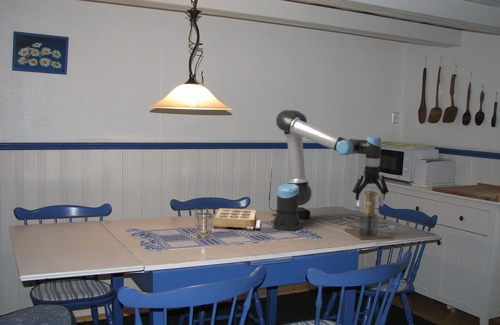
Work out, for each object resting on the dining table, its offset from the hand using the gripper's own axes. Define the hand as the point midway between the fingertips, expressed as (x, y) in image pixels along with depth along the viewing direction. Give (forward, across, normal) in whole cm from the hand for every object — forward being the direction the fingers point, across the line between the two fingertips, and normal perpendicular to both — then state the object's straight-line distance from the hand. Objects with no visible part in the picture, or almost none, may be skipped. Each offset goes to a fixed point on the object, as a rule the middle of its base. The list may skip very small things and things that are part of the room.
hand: (369, 206), depth 271 cm
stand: (+16, 0, 0) cm, 16 cm away
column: (+14, 0, 0) cm, 14 cm away
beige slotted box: (+16, -63, +32) cm, 73 cm away
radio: (+16, -28, +47) cm, 57 cm away
